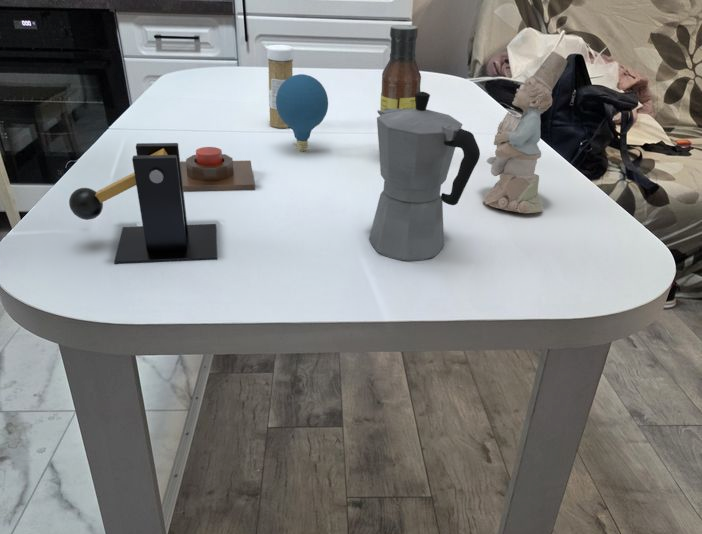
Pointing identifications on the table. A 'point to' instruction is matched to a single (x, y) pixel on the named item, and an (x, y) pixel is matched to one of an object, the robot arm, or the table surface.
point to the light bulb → (302, 106)
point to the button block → (217, 175)
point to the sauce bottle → (401, 70)
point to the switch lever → (100, 195)
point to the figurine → (523, 142)
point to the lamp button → (209, 156)
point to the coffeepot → (417, 178)
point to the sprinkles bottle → (278, 77)
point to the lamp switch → (163, 213)
